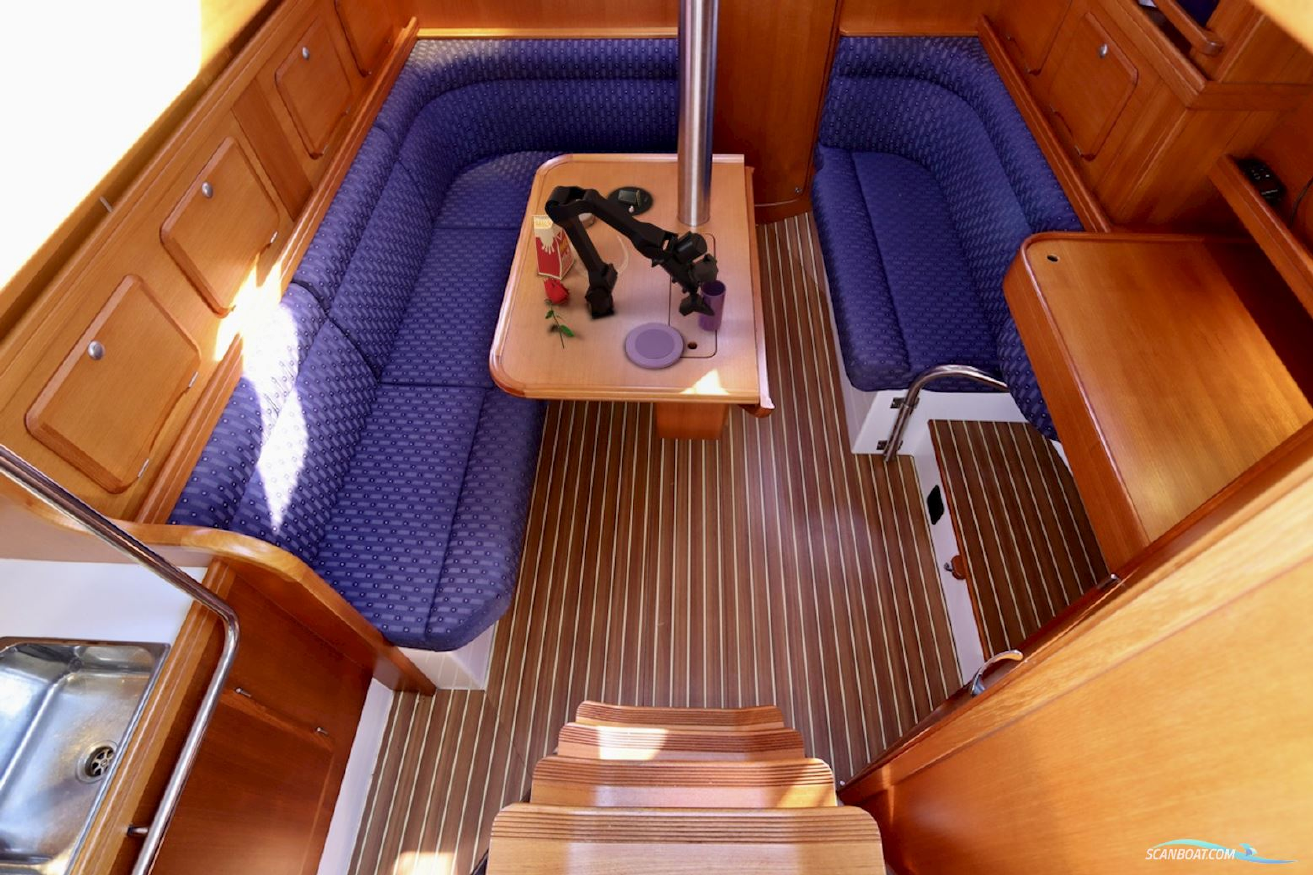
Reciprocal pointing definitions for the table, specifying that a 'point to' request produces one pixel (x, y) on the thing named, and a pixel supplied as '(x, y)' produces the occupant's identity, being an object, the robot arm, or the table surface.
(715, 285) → the tumbler
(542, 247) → the milk carton
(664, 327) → the plate
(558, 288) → the flower
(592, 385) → the table surface
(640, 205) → the black dish
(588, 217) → the alarm clock
